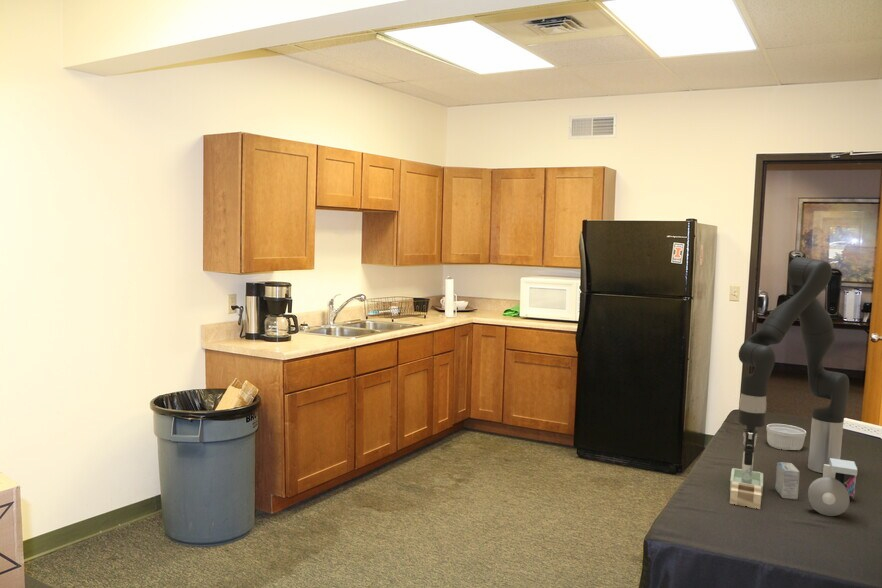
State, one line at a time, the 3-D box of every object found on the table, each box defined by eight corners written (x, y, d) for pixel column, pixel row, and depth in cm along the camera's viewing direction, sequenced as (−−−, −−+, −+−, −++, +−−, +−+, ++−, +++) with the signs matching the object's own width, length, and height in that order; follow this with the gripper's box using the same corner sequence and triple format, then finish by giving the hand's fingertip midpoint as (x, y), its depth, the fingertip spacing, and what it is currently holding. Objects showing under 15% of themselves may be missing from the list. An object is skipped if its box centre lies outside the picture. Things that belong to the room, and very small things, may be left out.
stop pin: (741, 482, 220) (743, 450, 219) (751, 483, 219) (753, 452, 218) (740, 485, 217) (743, 453, 216) (751, 486, 216) (753, 454, 215)
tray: (731, 477, 226) (732, 467, 226) (762, 482, 222) (763, 472, 222) (729, 491, 213) (730, 481, 213) (762, 496, 210) (763, 486, 209)
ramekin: (806, 446, 264) (808, 427, 263) (802, 454, 253) (804, 435, 252) (767, 439, 271) (769, 421, 270) (762, 447, 260) (763, 429, 259)
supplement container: (831, 499, 210) (834, 465, 209) (825, 491, 216) (828, 458, 215) (856, 503, 208) (860, 468, 207) (850, 495, 214) (853, 461, 213)
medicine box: (797, 500, 208) (800, 471, 207) (781, 498, 209) (783, 469, 208) (790, 490, 216) (792, 462, 215) (774, 489, 217) (776, 461, 216)
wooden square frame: (730, 494, 210) (731, 481, 210) (760, 499, 207) (761, 486, 207) (729, 503, 203) (730, 490, 203) (760, 509, 200) (761, 495, 200)
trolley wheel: (805, 504, 205) (810, 455, 204) (849, 511, 201) (854, 461, 199) (807, 513, 198) (811, 462, 196) (852, 522, 193) (857, 469, 192)
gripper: (766, 415, 208) (761, 469, 209) (765, 405, 221) (761, 456, 222) (738, 412, 211) (734, 465, 212) (739, 402, 224) (735, 452, 225)
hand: (748, 460), depth 217 cm, fingers open, 8 cm apart
